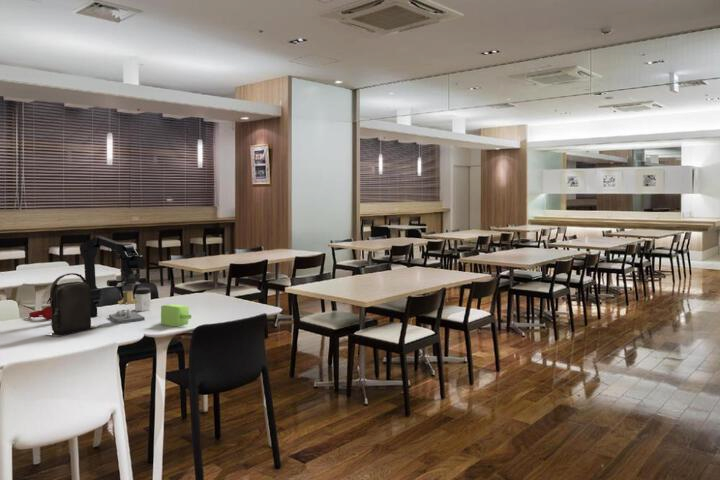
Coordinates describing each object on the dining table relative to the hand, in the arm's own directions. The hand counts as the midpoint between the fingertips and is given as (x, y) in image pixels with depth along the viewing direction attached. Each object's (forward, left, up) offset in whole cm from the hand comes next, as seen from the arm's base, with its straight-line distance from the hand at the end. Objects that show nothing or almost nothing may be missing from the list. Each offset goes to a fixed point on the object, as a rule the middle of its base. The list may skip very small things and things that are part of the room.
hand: (127, 298), depth 297 cm
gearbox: (+17, -24, -12) cm, 32 cm away
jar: (+14, +23, -12) cm, 29 cm away
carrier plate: (0, +4, -12) cm, 12 cm away
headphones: (-32, +36, -12) cm, 50 cm away
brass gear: (0, 0, -3) cm, 3 cm away
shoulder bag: (-27, -8, -12) cm, 31 cm away
